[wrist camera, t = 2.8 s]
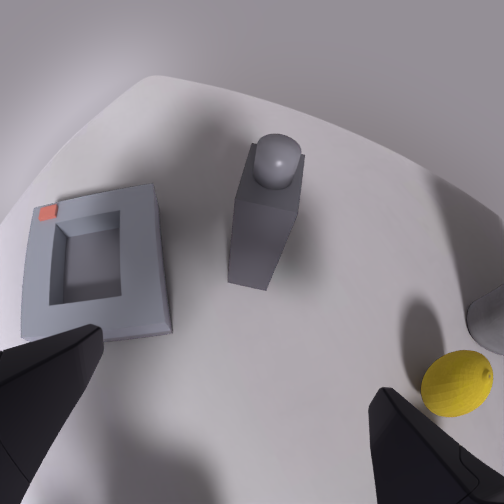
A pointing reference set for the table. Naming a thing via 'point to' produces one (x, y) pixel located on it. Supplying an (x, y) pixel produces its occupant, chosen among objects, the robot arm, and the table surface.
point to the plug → (265, 209)
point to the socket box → (96, 267)
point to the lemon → (457, 383)
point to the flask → (488, 320)
